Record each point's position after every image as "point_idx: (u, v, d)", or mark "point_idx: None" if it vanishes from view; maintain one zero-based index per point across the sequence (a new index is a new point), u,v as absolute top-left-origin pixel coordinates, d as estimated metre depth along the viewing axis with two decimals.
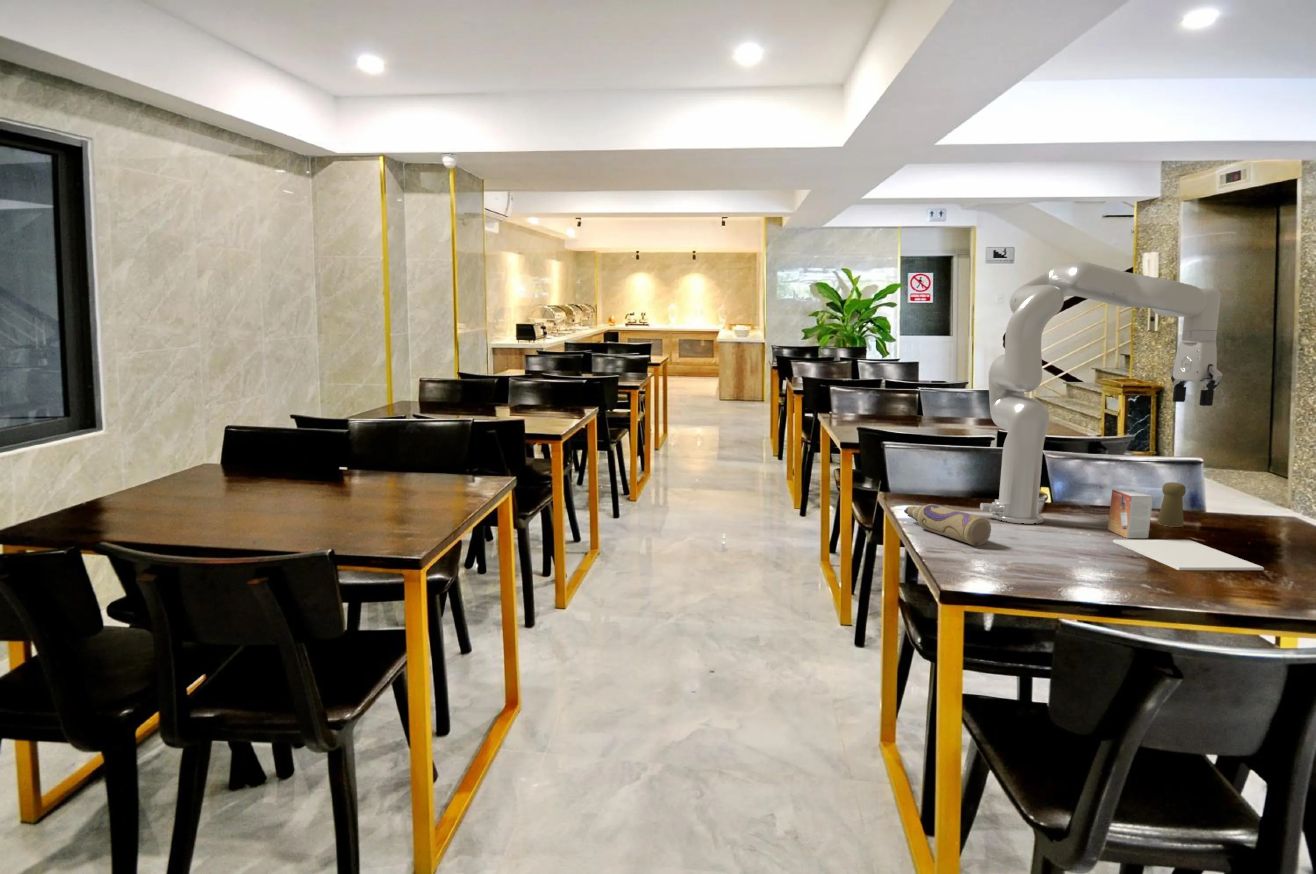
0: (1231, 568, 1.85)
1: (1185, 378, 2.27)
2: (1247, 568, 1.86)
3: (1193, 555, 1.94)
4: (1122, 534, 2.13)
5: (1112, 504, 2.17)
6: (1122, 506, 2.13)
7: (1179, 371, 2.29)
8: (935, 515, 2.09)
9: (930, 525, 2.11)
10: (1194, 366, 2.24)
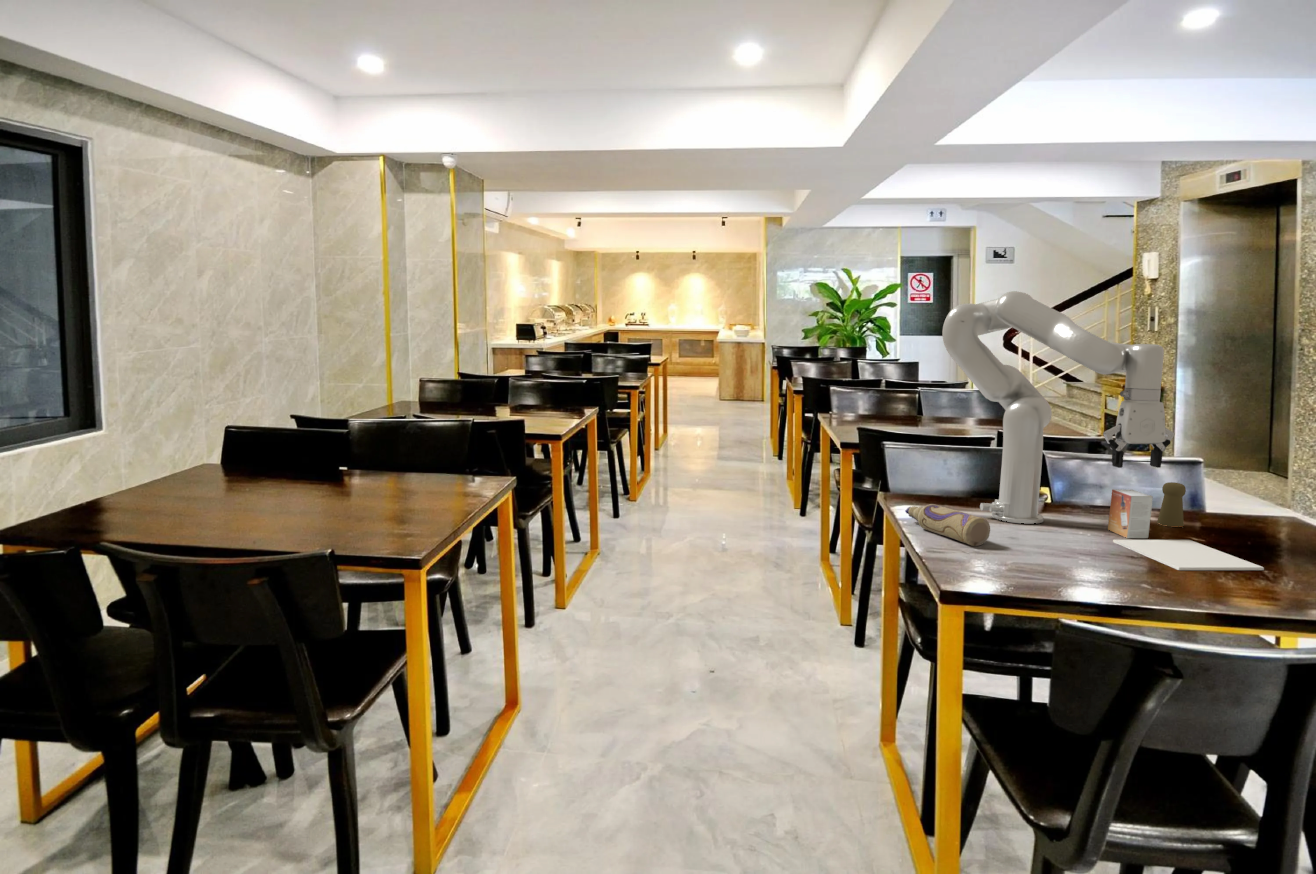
0: (1231, 568, 1.85)
1: (1147, 441, 2.09)
2: (1247, 568, 1.86)
3: (1193, 555, 1.94)
4: (1122, 534, 2.13)
5: (1112, 504, 2.17)
6: (1122, 506, 2.13)
7: (1137, 434, 2.09)
8: (934, 515, 2.09)
9: (929, 525, 2.10)
10: (1158, 427, 2.09)
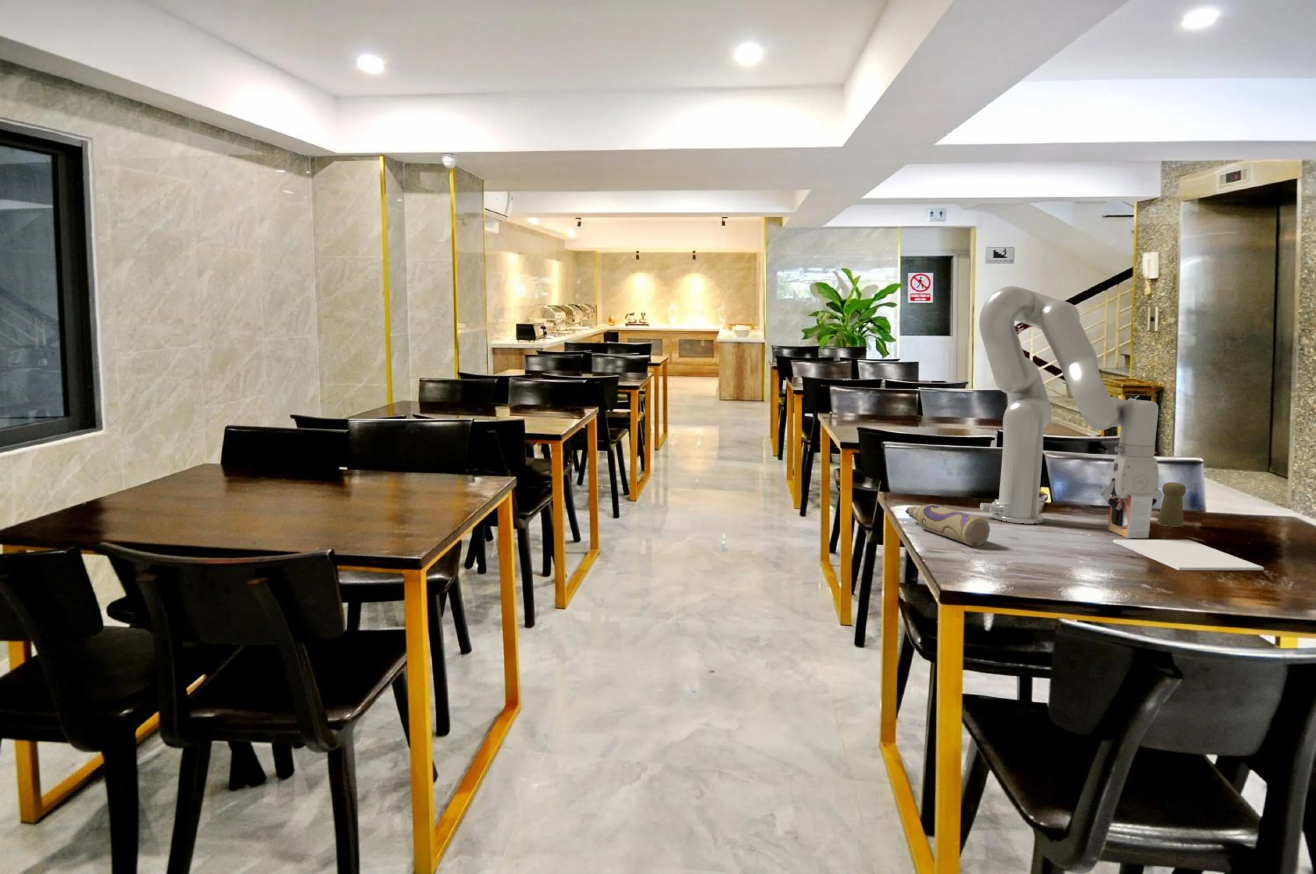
0: (1231, 568, 1.85)
1: None
2: (1247, 568, 1.86)
3: (1193, 555, 1.94)
4: (1122, 534, 2.13)
5: None
6: (1122, 506, 2.13)
7: (1131, 490, 2.11)
8: (934, 515, 2.09)
9: (929, 525, 2.10)
10: (1151, 483, 2.11)
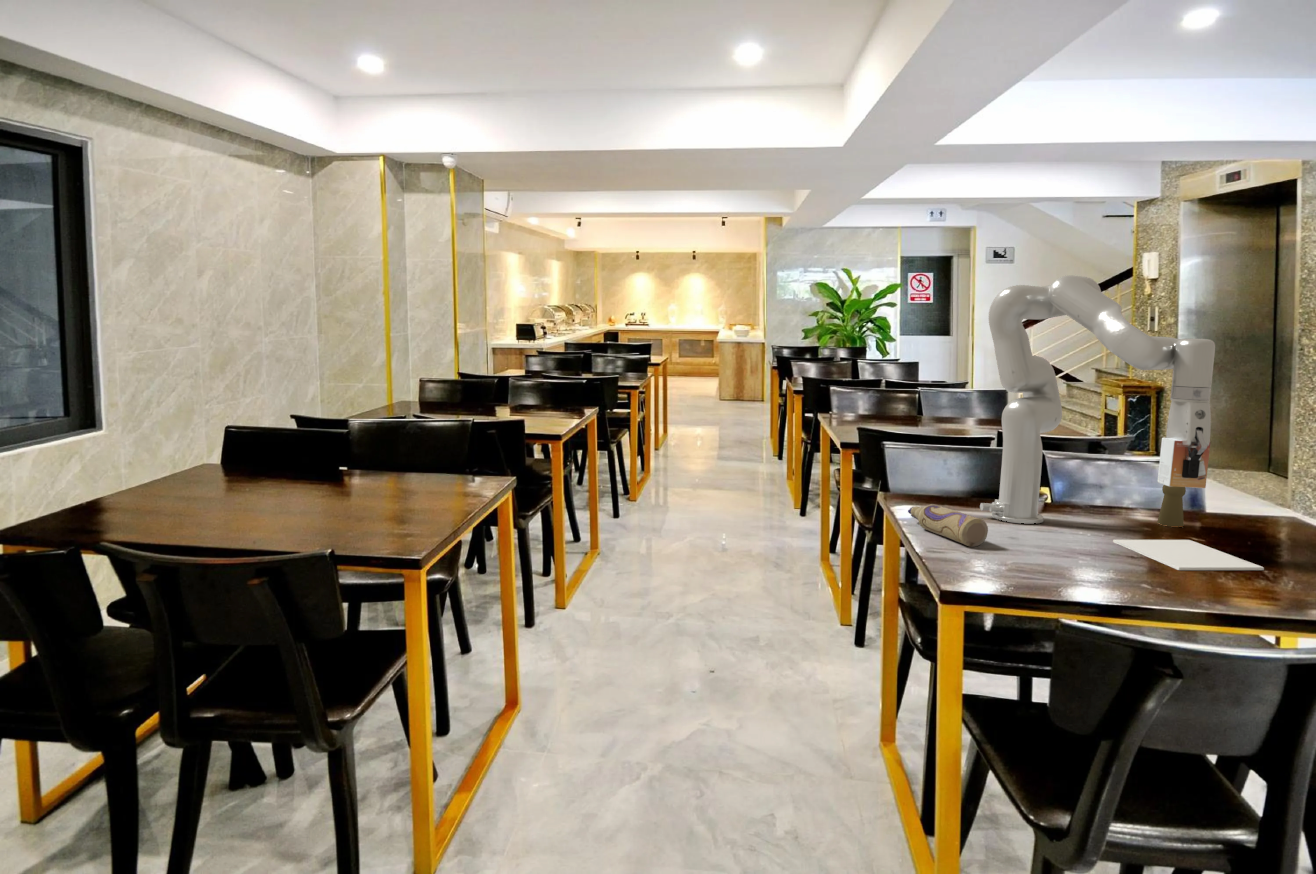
0: (1231, 568, 1.85)
1: None
2: (1247, 568, 1.86)
3: (1193, 555, 1.94)
4: (1197, 485, 1.95)
5: (1177, 457, 1.94)
6: None
7: None
8: (934, 515, 2.09)
9: (929, 525, 2.10)
10: None
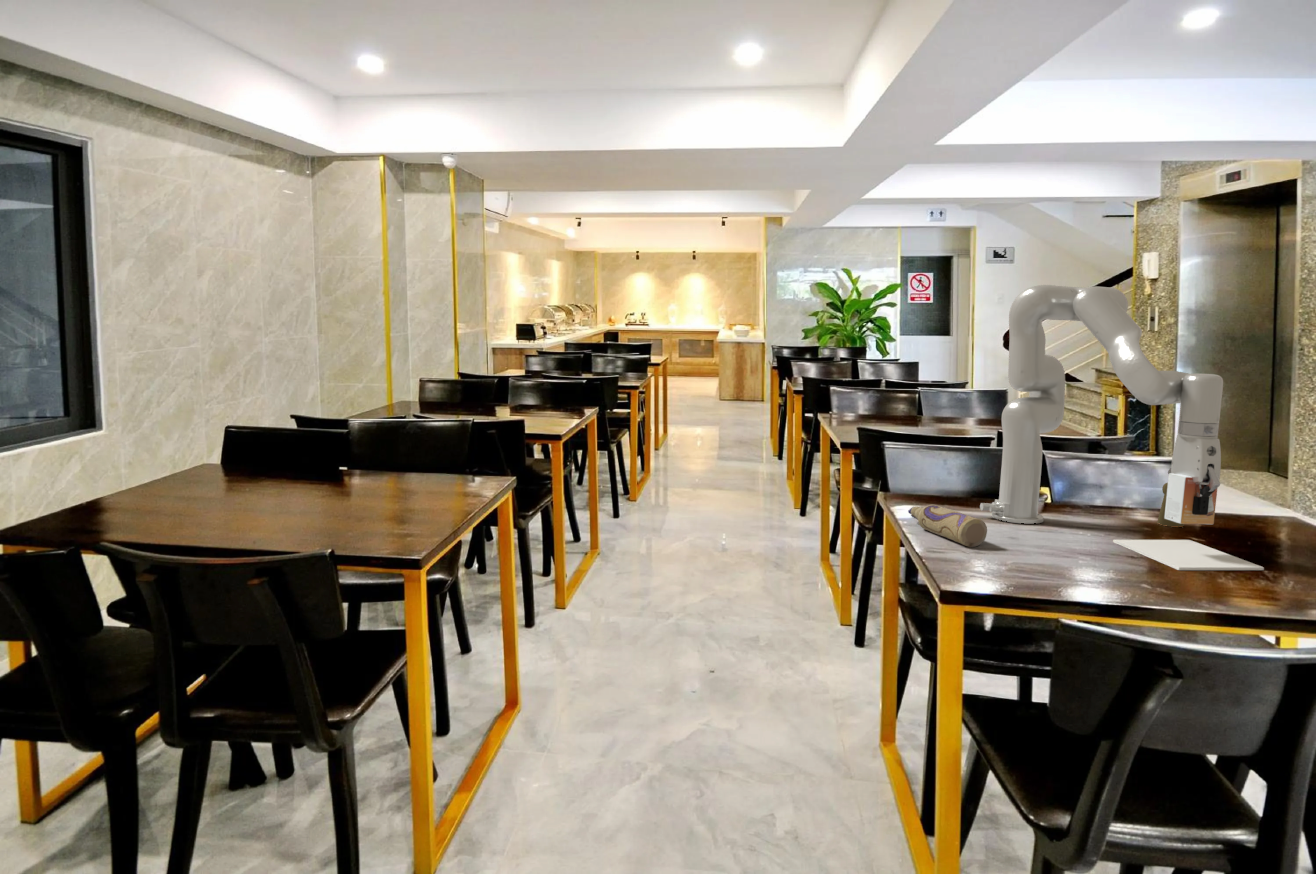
0: (1231, 568, 1.85)
1: None
2: (1247, 568, 1.86)
3: (1193, 555, 1.94)
4: (1206, 522, 1.93)
5: (1187, 493, 1.92)
6: None
7: None
8: (933, 516, 2.09)
9: (928, 526, 2.10)
10: None
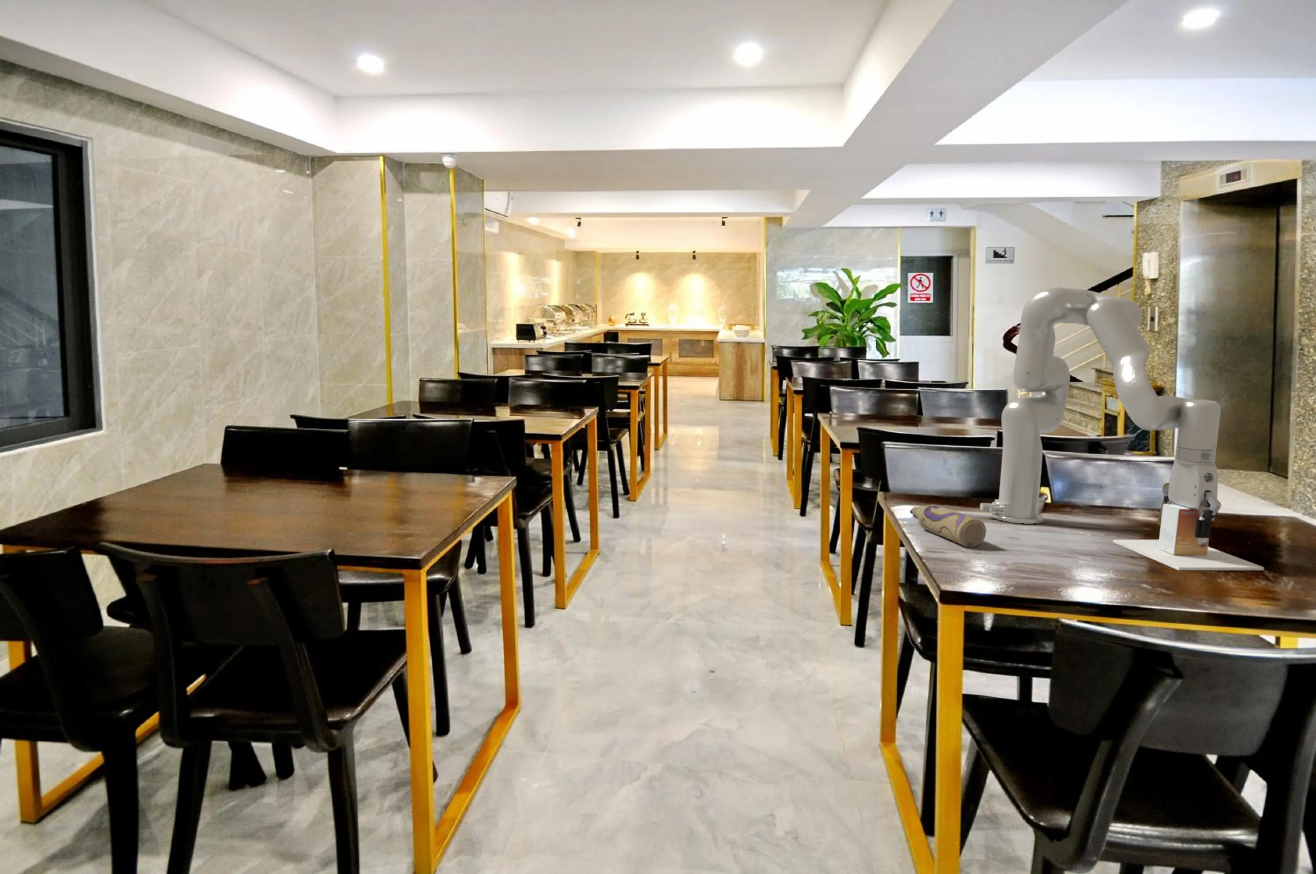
0: (1231, 568, 1.85)
1: None
2: (1247, 568, 1.86)
3: (1193, 555, 1.94)
4: (1199, 553, 1.94)
5: (1181, 525, 1.93)
6: None
7: None
8: (933, 516, 2.09)
9: (928, 526, 2.10)
10: None
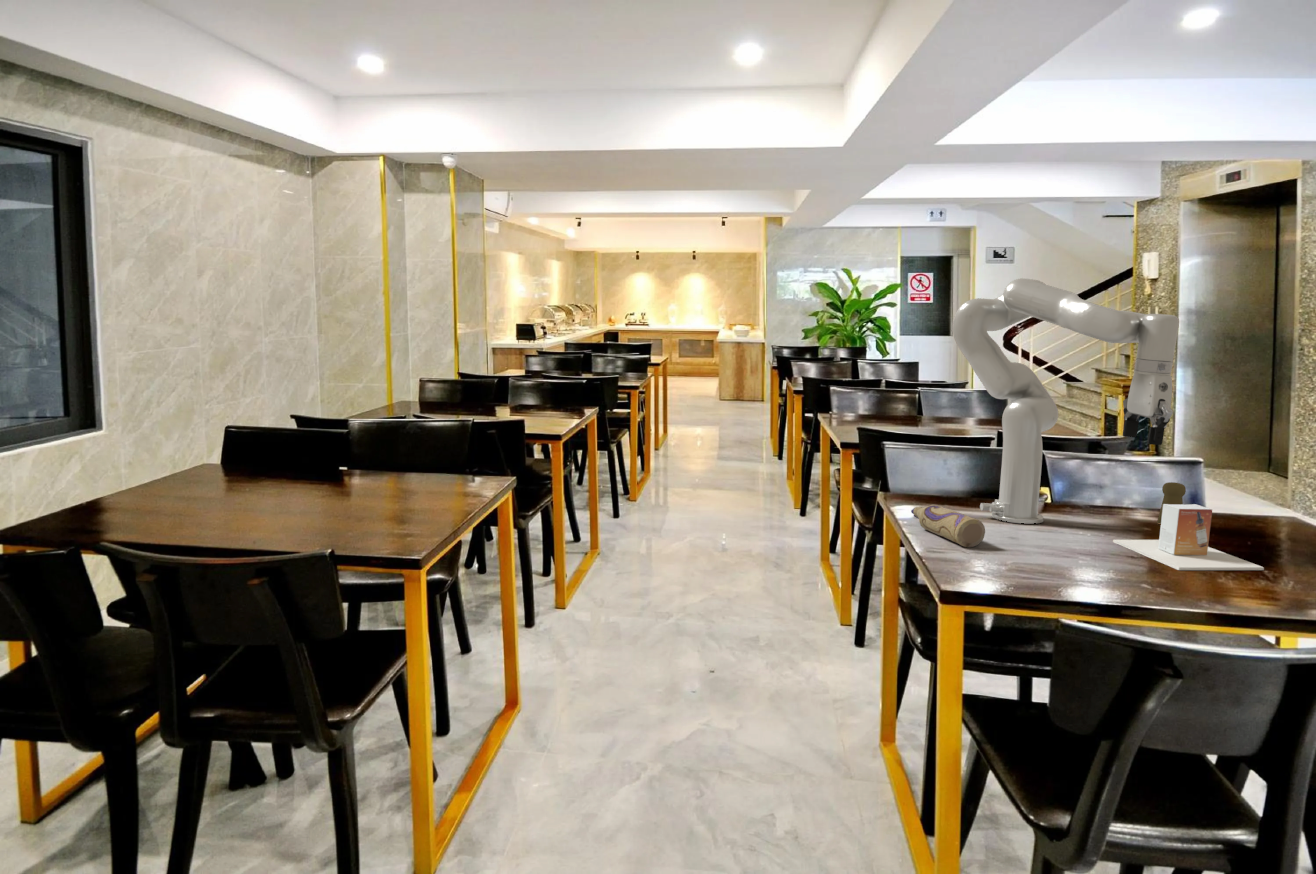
0: (1231, 568, 1.85)
1: None
2: (1247, 568, 1.86)
3: (1193, 555, 1.94)
4: (1199, 553, 1.94)
5: (1181, 525, 1.93)
6: (1199, 524, 1.93)
7: None
8: (933, 515, 2.09)
9: (928, 525, 2.10)
10: None
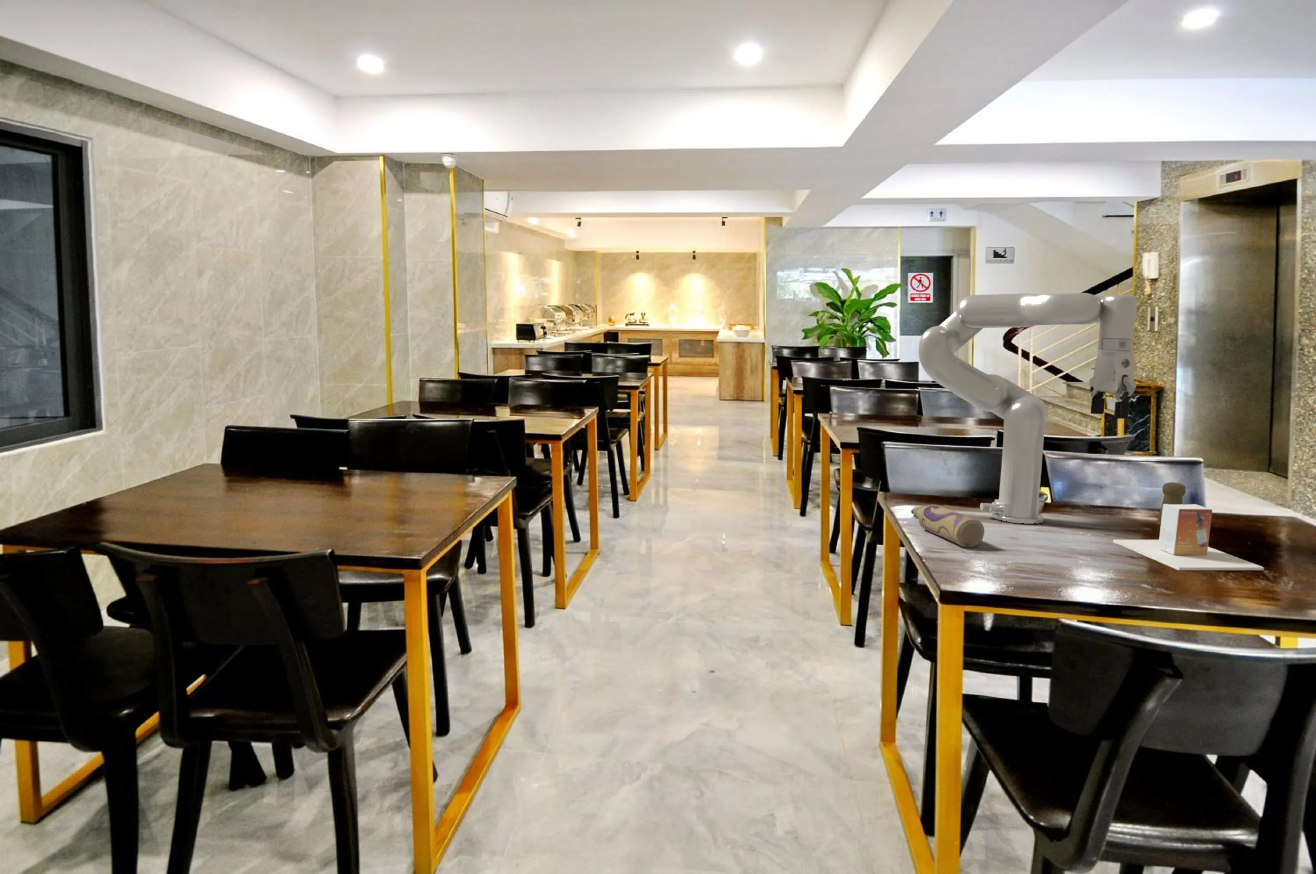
0: (1231, 568, 1.85)
1: None
2: (1247, 568, 1.86)
3: (1193, 555, 1.94)
4: (1199, 553, 1.94)
5: (1181, 525, 1.93)
6: (1199, 524, 1.93)
7: None
8: (932, 516, 2.09)
9: (928, 526, 2.10)
10: None
